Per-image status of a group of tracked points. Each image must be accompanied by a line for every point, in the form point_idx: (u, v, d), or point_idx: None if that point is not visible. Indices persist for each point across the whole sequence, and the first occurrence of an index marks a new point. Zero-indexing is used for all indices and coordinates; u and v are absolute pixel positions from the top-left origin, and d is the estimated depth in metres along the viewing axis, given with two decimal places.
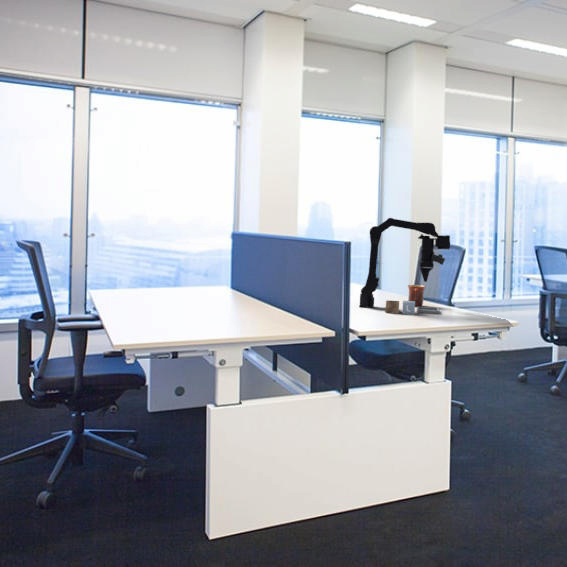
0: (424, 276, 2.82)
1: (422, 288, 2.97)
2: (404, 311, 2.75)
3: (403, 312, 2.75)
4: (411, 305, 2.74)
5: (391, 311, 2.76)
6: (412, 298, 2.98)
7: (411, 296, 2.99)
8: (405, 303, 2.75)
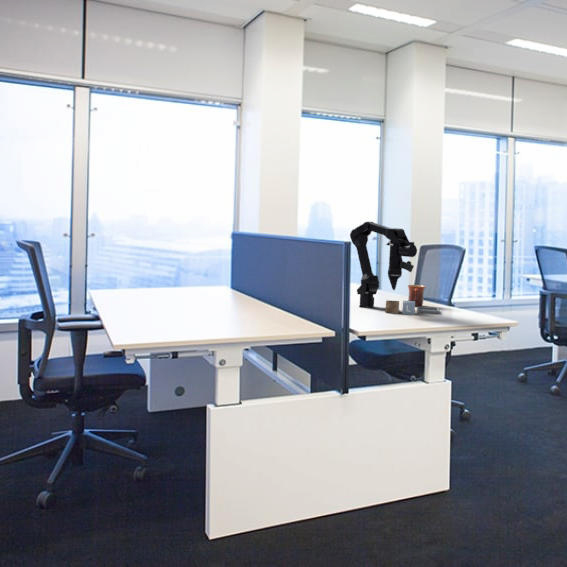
0: (392, 284, 2.72)
1: (422, 288, 2.97)
2: (404, 311, 2.75)
3: (403, 312, 2.75)
4: (411, 305, 2.74)
5: (391, 311, 2.76)
6: (412, 298, 2.98)
7: (411, 296, 2.99)
8: (405, 303, 2.75)
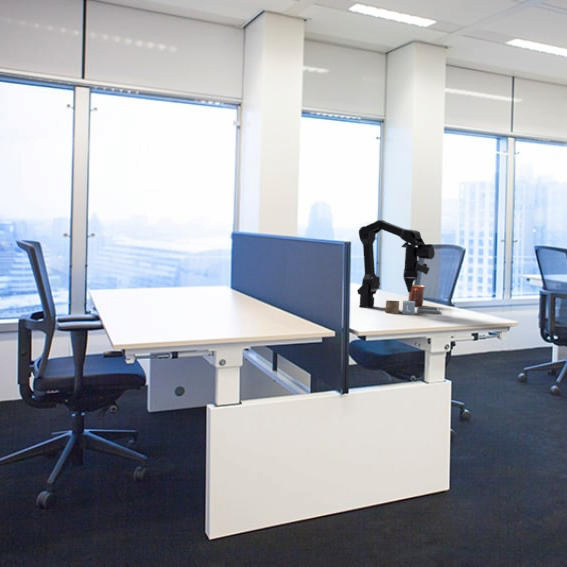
0: (408, 286, 2.71)
1: (422, 288, 2.97)
2: (404, 311, 2.75)
3: (403, 312, 2.75)
4: (411, 305, 2.74)
5: (391, 311, 2.76)
6: (412, 298, 2.98)
7: (411, 296, 2.99)
8: (405, 303, 2.75)
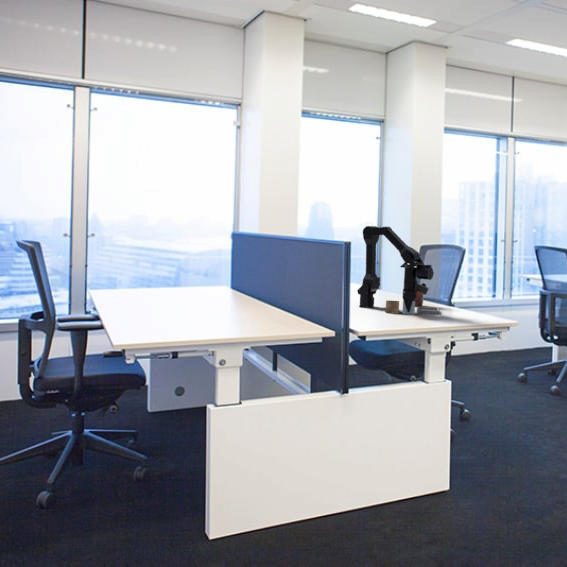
0: (407, 306, 2.73)
1: None
2: (404, 311, 2.75)
3: (403, 312, 2.75)
4: (411, 305, 2.74)
5: (391, 311, 2.76)
6: None
7: None
8: None
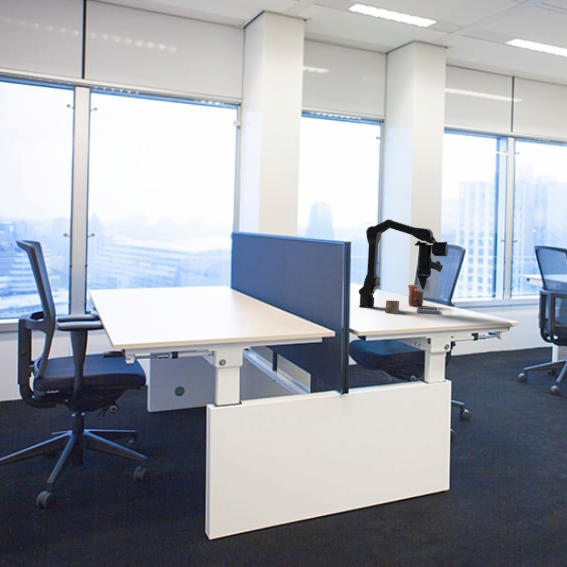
0: (422, 283, 2.76)
1: None
2: (418, 289, 2.77)
3: (418, 289, 2.77)
4: (426, 282, 2.76)
5: (391, 311, 2.76)
6: (412, 298, 2.98)
7: (411, 296, 2.99)
8: None
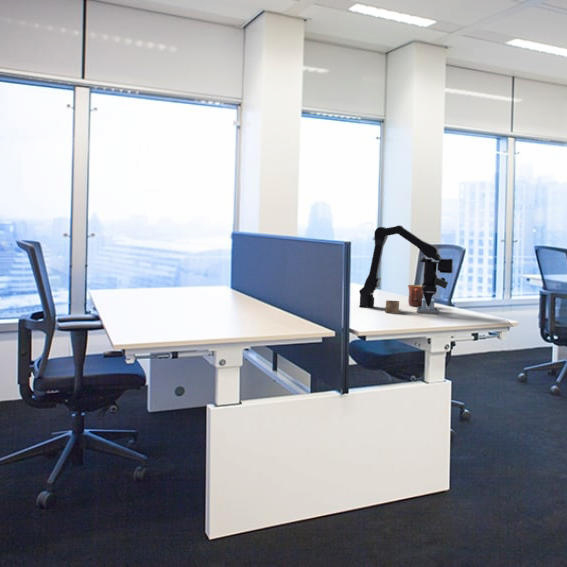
0: (427, 300, 2.77)
1: None
2: (423, 309, 2.81)
3: (423, 309, 2.81)
4: (431, 303, 2.79)
5: (391, 311, 2.76)
6: (412, 298, 2.98)
7: (411, 296, 2.99)
8: (425, 301, 2.80)
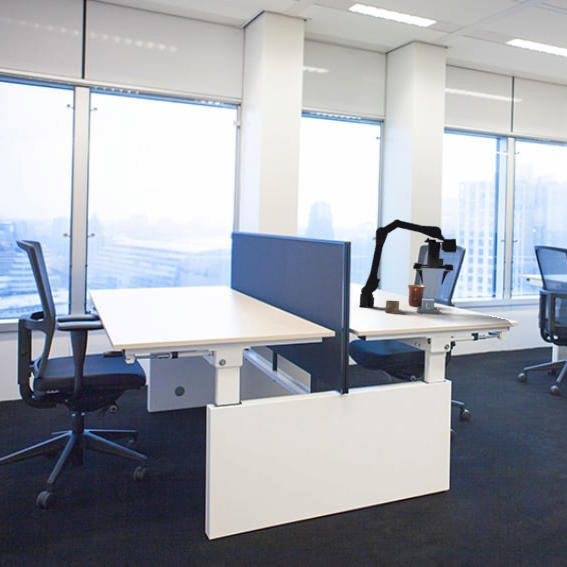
0: None
1: (422, 288, 2.97)
2: (423, 309, 2.81)
3: (423, 309, 2.81)
4: (431, 303, 2.79)
5: (391, 311, 2.76)
6: (412, 298, 2.98)
7: (411, 296, 2.99)
8: (425, 301, 2.80)
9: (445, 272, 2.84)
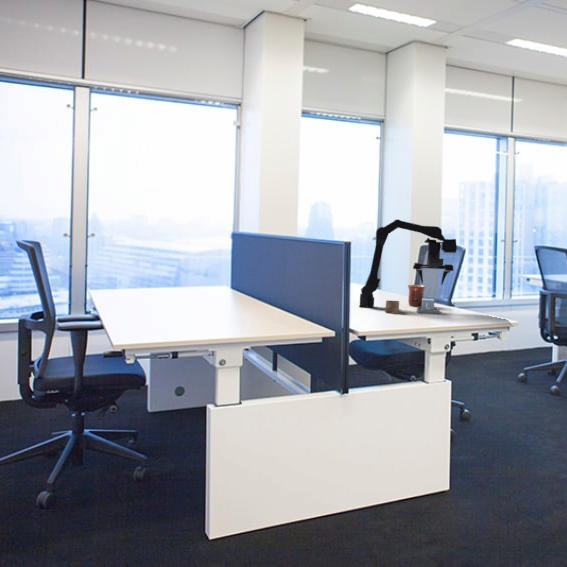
0: None
1: (422, 288, 2.97)
2: (423, 309, 2.81)
3: (423, 309, 2.81)
4: (431, 303, 2.79)
5: (391, 311, 2.76)
6: (412, 298, 2.98)
7: (411, 296, 2.99)
8: (425, 301, 2.80)
9: (445, 272, 2.84)
